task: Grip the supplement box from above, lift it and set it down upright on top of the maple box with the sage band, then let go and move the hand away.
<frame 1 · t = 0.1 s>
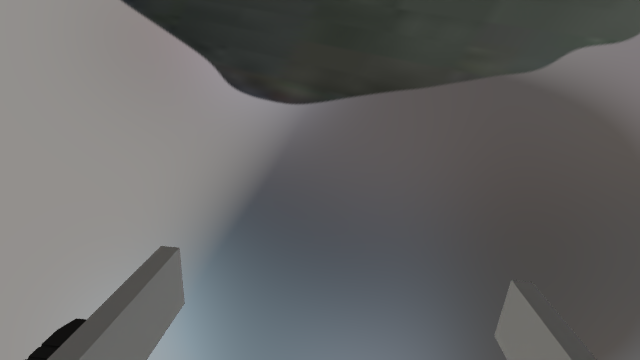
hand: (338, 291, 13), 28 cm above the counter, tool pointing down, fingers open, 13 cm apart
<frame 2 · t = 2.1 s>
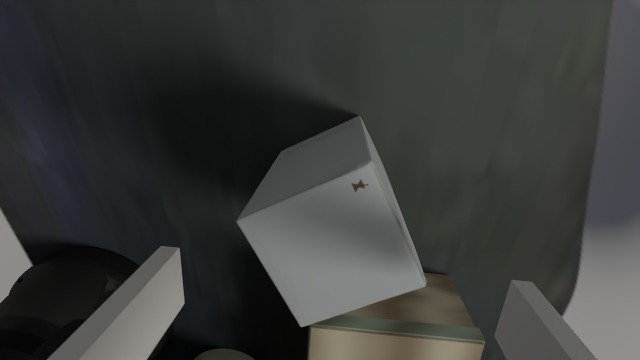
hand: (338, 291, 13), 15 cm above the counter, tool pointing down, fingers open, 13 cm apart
supplement box: (337, 171, 28), on the counter
maple box: (373, 336, 33), on the counter
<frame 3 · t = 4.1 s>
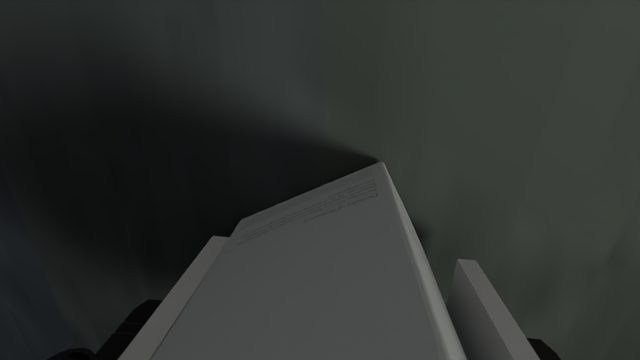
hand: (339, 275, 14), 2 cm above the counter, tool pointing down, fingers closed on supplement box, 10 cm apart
supplement box: (340, 252, 16), on the counter, touching gripper
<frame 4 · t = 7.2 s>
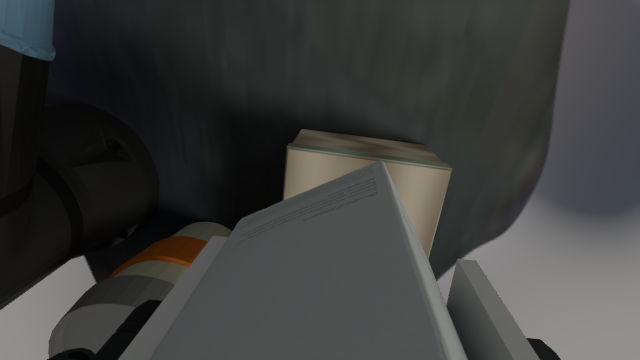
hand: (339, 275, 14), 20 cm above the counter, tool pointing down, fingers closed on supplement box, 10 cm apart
supplement box: (339, 251, 16), point 18 cm above the counter, touching gripper
reusable coffee cup: (211, 255, 38), on the counter
maple box: (351, 211, 35), on the counter
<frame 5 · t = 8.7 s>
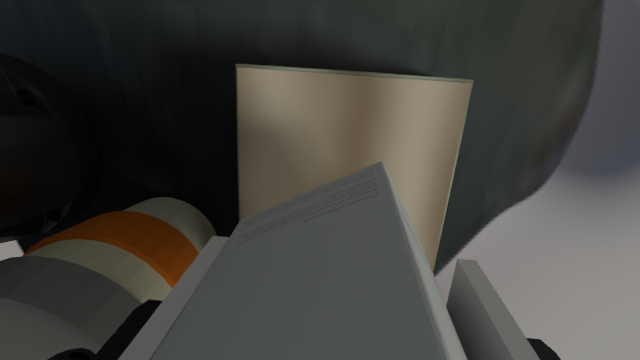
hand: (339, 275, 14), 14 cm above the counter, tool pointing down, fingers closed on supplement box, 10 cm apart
supplement box: (340, 252, 16), point 12 cm above the counter, touching gripper
reusable coffee cup: (172, 240, 31), on the counter
maple box: (341, 173, 27), on the counter
when the fingers open (11 cm above the counter, at t = 10.1 s): supplement box drops 1 cm, resting on maple box.
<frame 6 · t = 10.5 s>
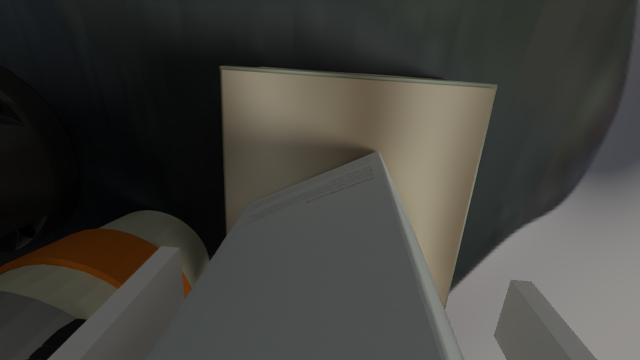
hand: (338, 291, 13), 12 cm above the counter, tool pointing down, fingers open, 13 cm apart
supplement box: (338, 235, 18), point 8 cm above the counter, touching maple box
reusable coffee cup: (159, 256, 29), on the counter
maple box: (342, 185, 25), on the counter
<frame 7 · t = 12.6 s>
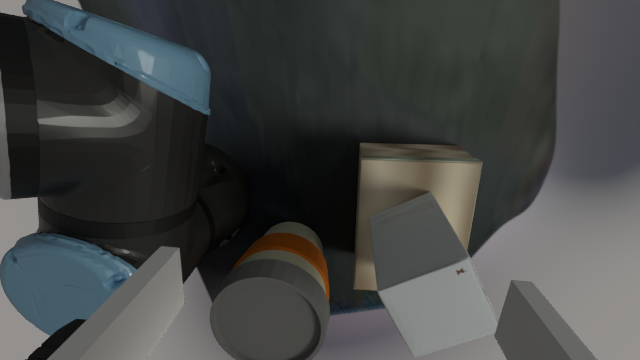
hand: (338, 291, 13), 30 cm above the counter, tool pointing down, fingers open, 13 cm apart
supplement box: (411, 230, 37), point 8 cm above the counter, touching maple box
reusable coffee cup: (292, 248, 48), on the counter
maple box: (402, 203, 44), on the counter
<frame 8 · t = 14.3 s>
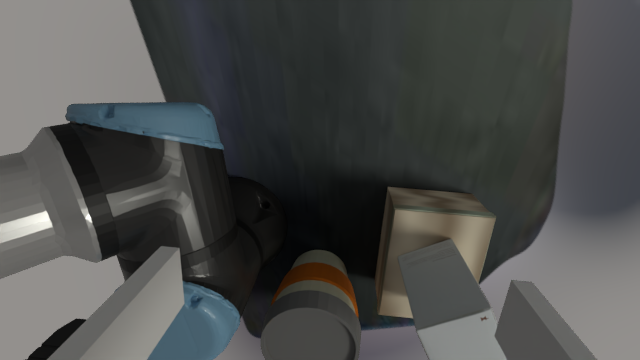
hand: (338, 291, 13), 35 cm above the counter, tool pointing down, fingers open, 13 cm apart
supplement box: (432, 268, 43), point 8 cm above the counter, touching maple box
reusable coffee cup: (319, 272, 54), on the counter
maple box: (420, 239, 51), on the counter
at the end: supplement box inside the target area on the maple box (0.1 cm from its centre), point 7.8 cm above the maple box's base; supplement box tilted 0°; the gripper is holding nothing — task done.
